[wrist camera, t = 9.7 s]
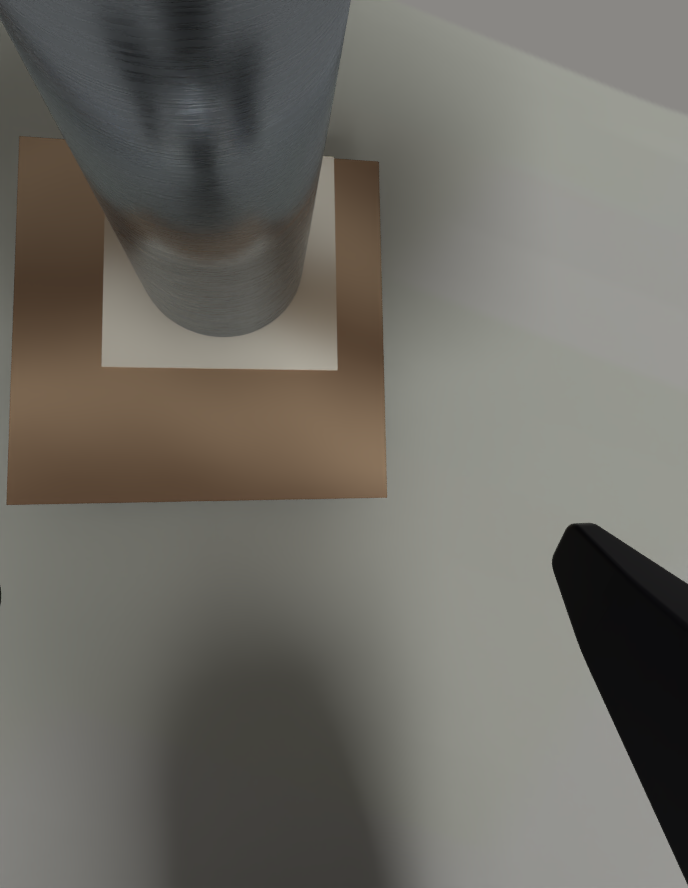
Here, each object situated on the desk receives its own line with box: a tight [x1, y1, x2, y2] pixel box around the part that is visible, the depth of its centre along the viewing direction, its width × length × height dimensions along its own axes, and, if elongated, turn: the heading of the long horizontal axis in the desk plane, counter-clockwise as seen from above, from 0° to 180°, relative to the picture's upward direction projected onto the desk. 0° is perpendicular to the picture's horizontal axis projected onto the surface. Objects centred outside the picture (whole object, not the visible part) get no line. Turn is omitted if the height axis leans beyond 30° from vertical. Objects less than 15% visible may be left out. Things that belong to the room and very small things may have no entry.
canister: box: [0, 0, 351, 337], centre depth 11 cm, size 5×5×13 cm
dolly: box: [7, 136, 387, 505], centre depth 19 cm, size 11×11×3 cm
